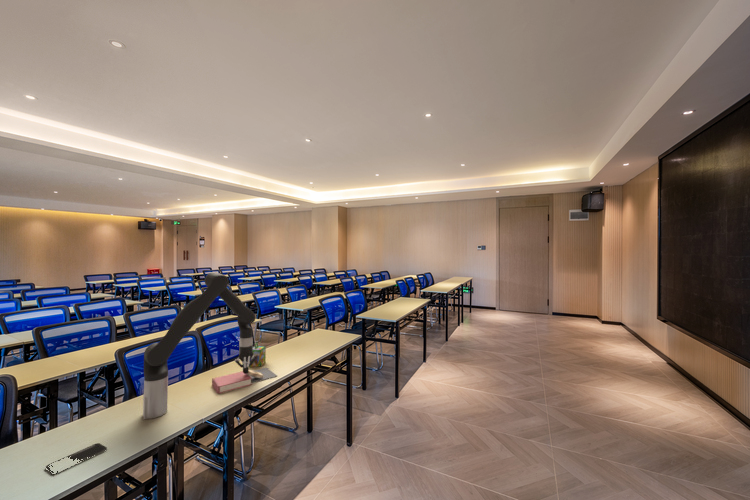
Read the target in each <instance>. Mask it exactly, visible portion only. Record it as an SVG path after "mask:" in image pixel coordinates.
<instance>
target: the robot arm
mask: <svg viewBox="0 0 750 500" xmlns="http://www.w3.org/2000/svg"><path fill="white" fill-rule="evenodd" d="M204 284H205V285H206V287H207V288H206V289H205V290H204V291H203V292H202V294H200V295H199V296H198V297H196V298H194V299H192V300H191V301H190V302H188V303H187V304H185V306H184V307H183V308H182V309H181V310H180V312H178V313H177V315H176V316H175V317H174V319H173V321H172V323H171V325H170V326H169V329H168V331H167V332H166V333H165V335H164V336H163V337H162V338H161V340H160V341H158V342H154V343H151V344H150V345H148V346H147V347H146V348H145V350H144V353H143V376H144V377H143V398H142V400H143V402H142V418H143V420H147V419H148V420H151V419H155V418H159V417H162V416H163V415H165V414H166V413H168V400H169V399H168V398H169V397H168V396H169V394H168V393H169V391H168V389H169V388H168V387H169V386H168V385H169V368H168V360H169V358H170V356H171V355H172V353H174V350H175V349H176V347H178V345H179V343H180V342H181V340H183V338H184V337H185V336H187V334H188V333H189V331H191V329H192V328H193V326H195V324H197V322H198V321H199V319H200V318H201V317H202V315H203V314H204V313H205V312H206V311H207V310H208V308H210V306H211V305H212V303H213V302H214V301H215V300H216V299H217V298H218V297H219V298H221V300H222V301H223V302H224V303H225V304H226V305H227V306H228V308H229V309H230V310H231V311H232V312H233V313H234V314H235V315H237V325H238V328H239V342H238V343H239V344H238V347H239V349H238V351H239V353H238V357H237V358H235V359H234V362H235V363H236V365H238V366H239V367H240V368H242V371H243V373H244V374H247V372H248V370H249V366H251V365H252V364H253V362H254V361H255V359H256V358H257V356H255V355H253V346H254V343H253V342H254V339H253V328H252V326H250V324H253V323H254V322H255V321H256V314H255V313H254V311H252V309H250V308H249V307H248V306H246V305H245V303H244V302H243V301H242V300H241V299H240V297H238V296H237V295H236V294H235V293H234V292H232V291H231V290H230V289H229V287H228V285H229V277H228V276H226V275H225V274H222V273H220V272H213V271H212V272H209V273H208V274H207V275H206V276H205V278H204ZM251 358H252V359H251ZM250 359H251V361H250ZM240 361H241V362H240Z"/></svg>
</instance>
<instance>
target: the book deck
mask: <svg viewBox="0 0 750 500" xmlns="http://www.w3.org/2000/svg"><path fill="white" fill-rule="evenodd" d="M251 379H252V378H251V377H250V376H248V375H247V374H244V373H243V370H242V371H238V372H234V373H229V374H226V375H221V376H217V377H214V378H211V386H212V387H213V389H214V391H215V392H216V393H217V394H218V395H220V394H223V393H226V392H227V393H228V392H230V391H234V390H237V389H242V388H245V387H248V386H252V385H253V383H251Z"/></svg>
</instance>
